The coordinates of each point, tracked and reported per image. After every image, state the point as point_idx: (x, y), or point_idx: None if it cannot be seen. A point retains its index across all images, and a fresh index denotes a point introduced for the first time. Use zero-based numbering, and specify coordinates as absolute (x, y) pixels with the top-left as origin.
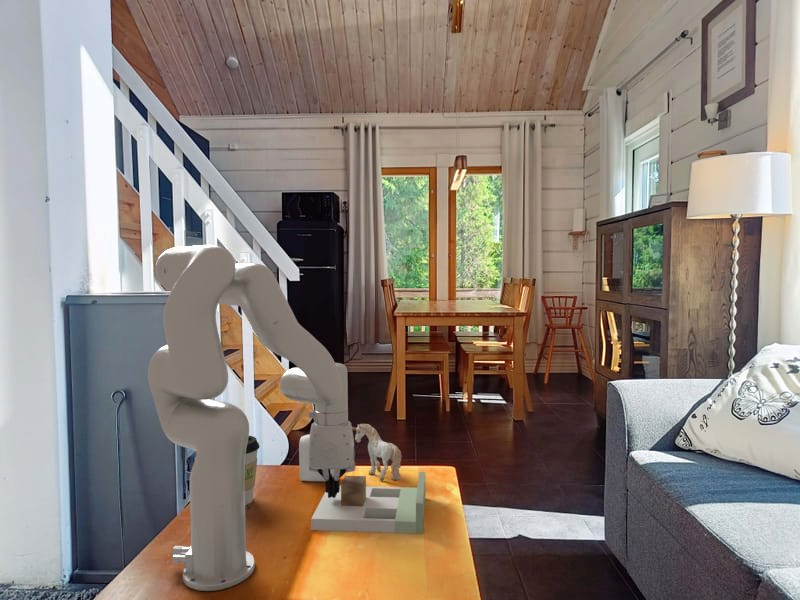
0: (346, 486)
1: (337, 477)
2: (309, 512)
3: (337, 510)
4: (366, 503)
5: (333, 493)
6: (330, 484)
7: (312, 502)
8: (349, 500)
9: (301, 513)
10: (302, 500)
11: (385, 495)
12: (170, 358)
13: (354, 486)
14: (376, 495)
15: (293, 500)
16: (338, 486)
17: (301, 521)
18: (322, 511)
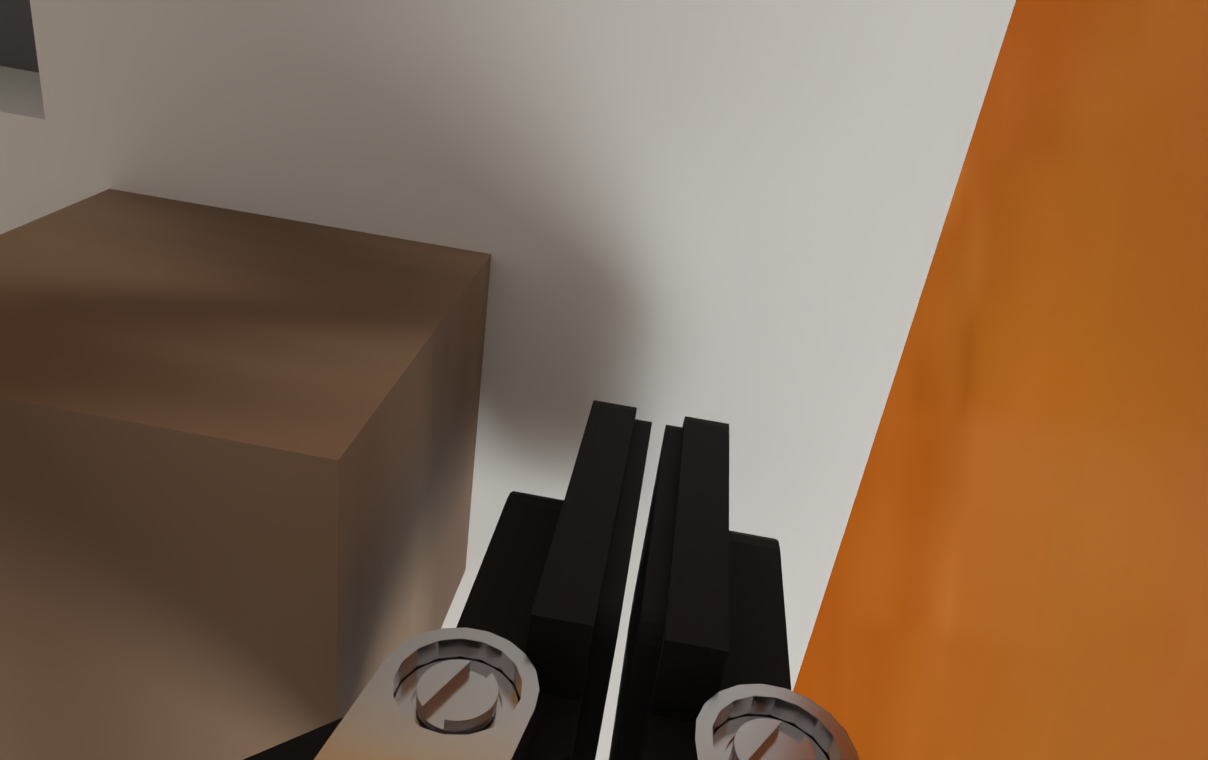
0: (215, 400)
1: (419, 700)
2: (1013, 394)
3: (542, 58)
4: None
5: (608, 438)
6: (657, 583)
7: (945, 661)
8: (301, 261)
9: (1142, 378)
10: (1077, 729)
11: None
12: None
13: (4, 366)
14: None
15: (1202, 748)
16: (482, 571)
17: (1182, 102)
18: (841, 36)
